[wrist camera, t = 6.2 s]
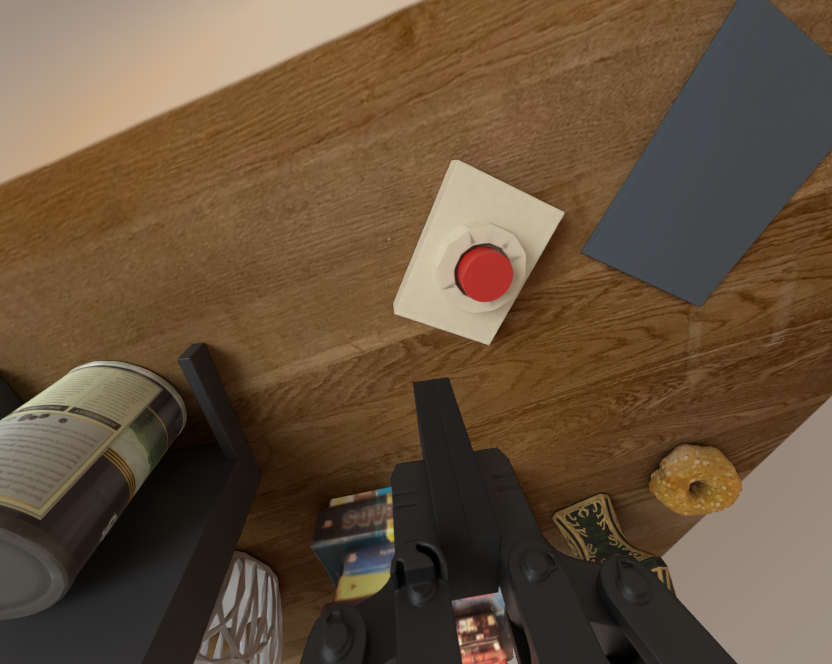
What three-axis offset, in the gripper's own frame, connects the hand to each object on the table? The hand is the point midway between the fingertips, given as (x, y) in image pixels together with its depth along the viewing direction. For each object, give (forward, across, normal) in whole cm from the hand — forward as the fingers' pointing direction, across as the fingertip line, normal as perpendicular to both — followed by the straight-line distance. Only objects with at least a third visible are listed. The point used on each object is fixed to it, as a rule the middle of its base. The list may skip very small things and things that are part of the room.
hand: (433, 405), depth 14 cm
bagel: (+16, +34, -30) cm, 48 cm away
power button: (+12, +6, +2) cm, 13 cm away
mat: (+16, +26, +6) cm, 31 cm away
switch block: (+16, +6, +2) cm, 17 cm away
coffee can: (+16, -27, -8) cm, 32 cm away
